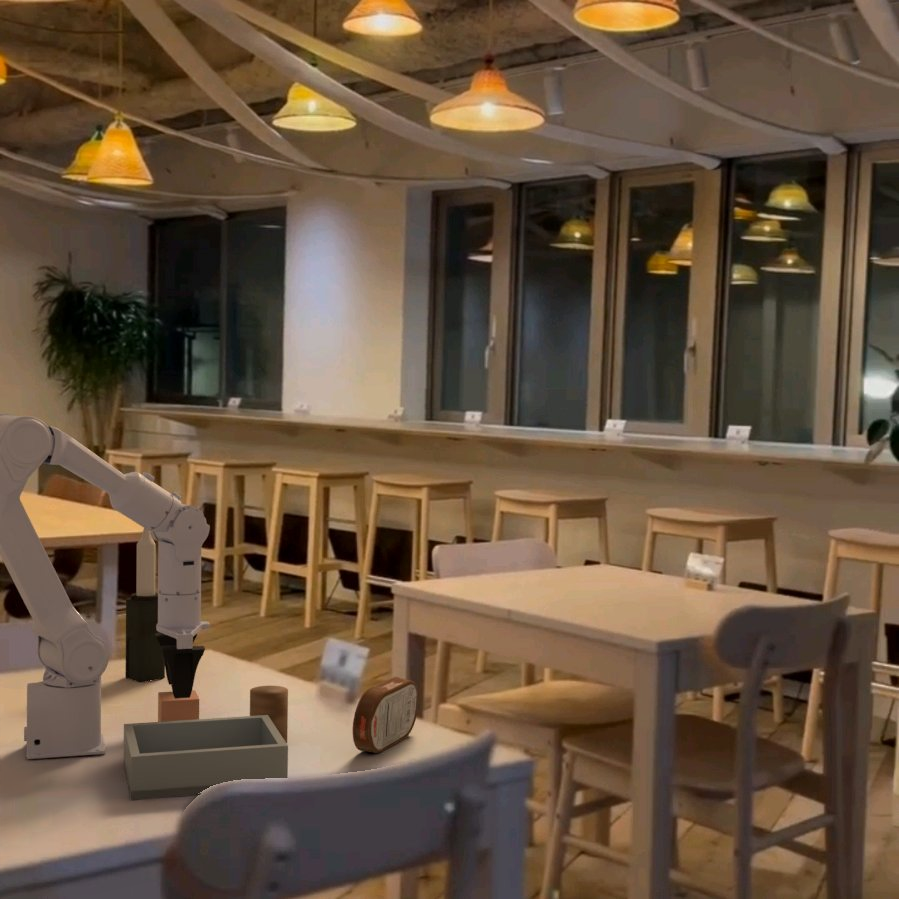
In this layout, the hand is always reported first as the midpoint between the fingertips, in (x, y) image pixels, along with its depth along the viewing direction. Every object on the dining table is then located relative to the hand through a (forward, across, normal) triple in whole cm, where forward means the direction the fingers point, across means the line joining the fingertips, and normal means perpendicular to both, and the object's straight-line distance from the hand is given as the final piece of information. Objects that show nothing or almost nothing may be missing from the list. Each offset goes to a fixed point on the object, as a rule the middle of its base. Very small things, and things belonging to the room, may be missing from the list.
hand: (179, 690), depth 170 cm
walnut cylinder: (+6, -8, -11) cm, 15 cm away
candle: (+6, +32, +2) cm, 33 cm away
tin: (+6, -13, -26) cm, 30 cm away
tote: (+6, -20, -1) cm, 21 cm away
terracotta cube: (+6, 0, 0) cm, 6 cm away
